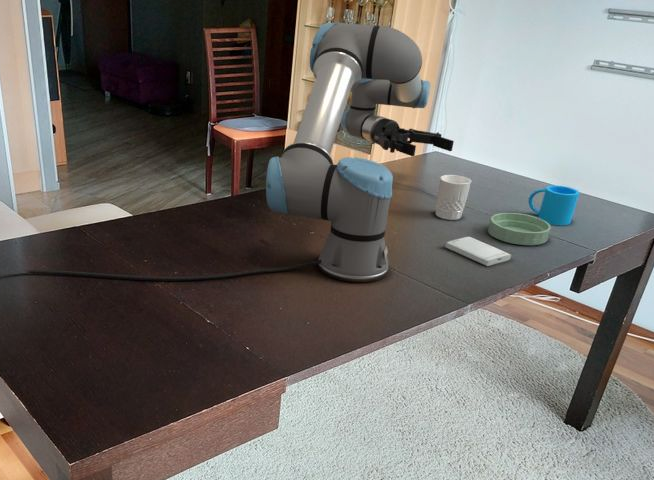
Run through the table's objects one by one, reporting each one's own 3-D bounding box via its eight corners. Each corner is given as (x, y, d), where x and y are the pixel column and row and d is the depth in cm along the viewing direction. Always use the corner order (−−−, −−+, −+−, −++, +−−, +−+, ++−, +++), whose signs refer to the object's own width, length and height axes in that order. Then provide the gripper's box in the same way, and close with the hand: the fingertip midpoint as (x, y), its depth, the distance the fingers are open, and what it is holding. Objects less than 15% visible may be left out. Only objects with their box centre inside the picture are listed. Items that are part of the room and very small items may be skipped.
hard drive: (446, 241, 161) (488, 260, 152) (469, 235, 165) (511, 253, 156) (444, 248, 162) (486, 266, 153) (468, 242, 166) (510, 260, 157)
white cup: (427, 215, 182) (434, 178, 177) (441, 208, 187) (449, 173, 182) (455, 223, 177) (463, 185, 172) (468, 216, 182) (476, 179, 177)
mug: (575, 220, 182) (584, 190, 178) (563, 227, 177) (572, 197, 173) (531, 209, 189) (538, 180, 185) (519, 215, 184) (526, 186, 179)
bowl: (498, 245, 165) (501, 231, 163) (480, 224, 177) (483, 211, 175) (556, 247, 165) (560, 233, 163) (534, 226, 177) (538, 213, 175)
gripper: (411, 140, 204) (464, 157, 188) (345, 148, 194) (395, 167, 178) (416, 114, 200) (469, 130, 185) (349, 121, 190) (399, 138, 174)
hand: (433, 148), depth 181 cm, fingers open, 13 cm apart
